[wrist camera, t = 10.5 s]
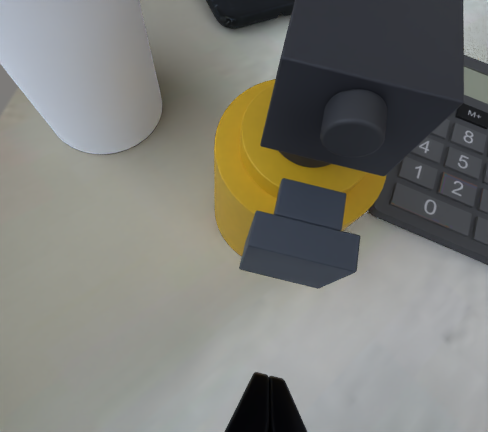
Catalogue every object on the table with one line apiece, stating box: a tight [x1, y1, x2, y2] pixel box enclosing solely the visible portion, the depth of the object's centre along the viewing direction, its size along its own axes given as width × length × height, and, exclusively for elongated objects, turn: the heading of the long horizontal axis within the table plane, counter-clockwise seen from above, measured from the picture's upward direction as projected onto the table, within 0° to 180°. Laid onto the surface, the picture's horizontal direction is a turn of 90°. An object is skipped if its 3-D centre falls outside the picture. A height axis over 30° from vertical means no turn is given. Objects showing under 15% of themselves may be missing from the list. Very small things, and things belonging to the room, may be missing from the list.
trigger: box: [239, 178, 360, 288], centre depth 10 cm, size 2×3×3 cm
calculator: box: [369, 55, 488, 264], centre depth 22 cm, size 12×1×15 cm
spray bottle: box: [214, 0, 464, 256], centre depth 13 cm, size 7×7×14 cm
